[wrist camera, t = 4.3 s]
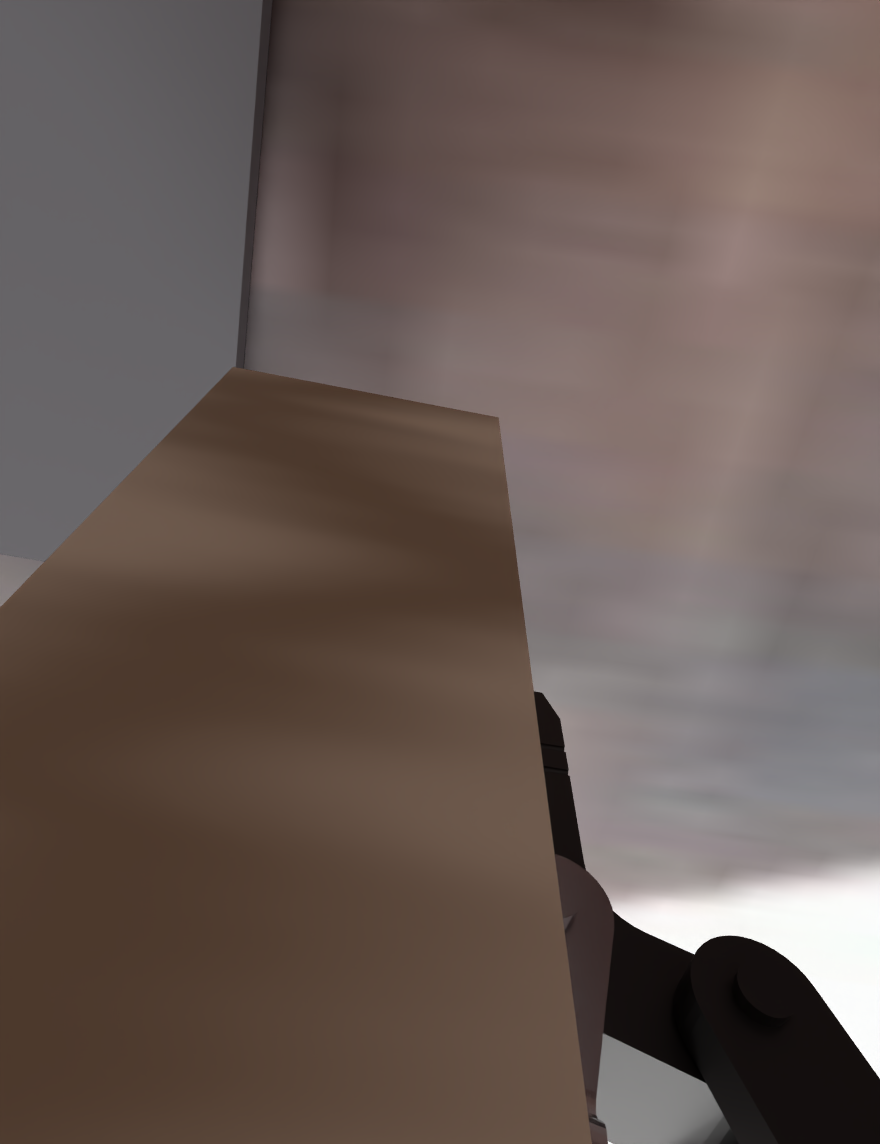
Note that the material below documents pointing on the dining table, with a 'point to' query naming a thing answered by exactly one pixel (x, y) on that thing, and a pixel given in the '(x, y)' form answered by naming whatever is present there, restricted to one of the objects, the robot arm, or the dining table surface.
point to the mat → (118, 237)
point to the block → (283, 797)
